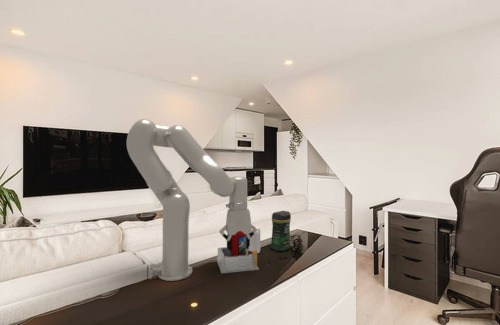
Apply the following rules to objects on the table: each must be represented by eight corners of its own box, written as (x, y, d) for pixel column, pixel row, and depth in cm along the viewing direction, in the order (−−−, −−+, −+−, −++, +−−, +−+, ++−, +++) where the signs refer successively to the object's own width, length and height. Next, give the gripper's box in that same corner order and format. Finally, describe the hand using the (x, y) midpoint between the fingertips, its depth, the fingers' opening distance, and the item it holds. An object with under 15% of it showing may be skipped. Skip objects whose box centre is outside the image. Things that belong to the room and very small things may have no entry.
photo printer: (241, 248, 127) (241, 223, 127) (248, 246, 130) (248, 222, 130) (254, 254, 119) (255, 227, 119) (261, 252, 122) (261, 226, 122)
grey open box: (221, 273, 99) (221, 255, 99) (216, 259, 112) (216, 243, 112) (258, 269, 103) (258, 251, 102) (249, 256, 116) (249, 241, 116)
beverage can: (244, 259, 104) (244, 230, 103) (228, 258, 105) (228, 229, 105) (247, 253, 110) (247, 225, 110) (232, 252, 112) (232, 225, 111)
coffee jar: (281, 253, 121) (282, 213, 121) (268, 249, 127) (268, 211, 127) (293, 248, 128) (293, 211, 128) (280, 244, 134) (280, 208, 134)
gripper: (218, 209, 101) (218, 254, 102) (260, 206, 106) (260, 250, 106) (216, 205, 109) (216, 247, 109) (255, 203, 113) (255, 244, 113)
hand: (238, 248), depth 108 cm, fingers closed on beverage can, 6 cm apart
